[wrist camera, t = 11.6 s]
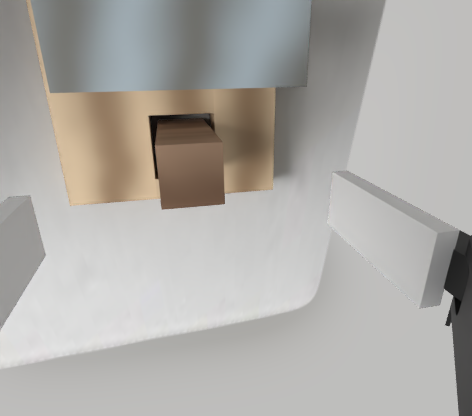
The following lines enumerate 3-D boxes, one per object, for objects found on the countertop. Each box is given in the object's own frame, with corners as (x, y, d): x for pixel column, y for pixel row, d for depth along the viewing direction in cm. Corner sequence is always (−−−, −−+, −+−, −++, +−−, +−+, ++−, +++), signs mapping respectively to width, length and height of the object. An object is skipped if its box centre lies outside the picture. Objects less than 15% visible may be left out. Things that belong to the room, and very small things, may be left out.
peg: (158, 119, 30) (155, 145, 20) (202, 118, 31) (223, 142, 20) (162, 163, 32) (161, 209, 21) (204, 160, 33) (224, 204, 22)
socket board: (78, 194, 32) (31, 260, 20) (38, -5, 26) (-60, -66, 14) (264, 180, 35) (311, 230, 24) (267, 0, 29) (332, -47, 18)
